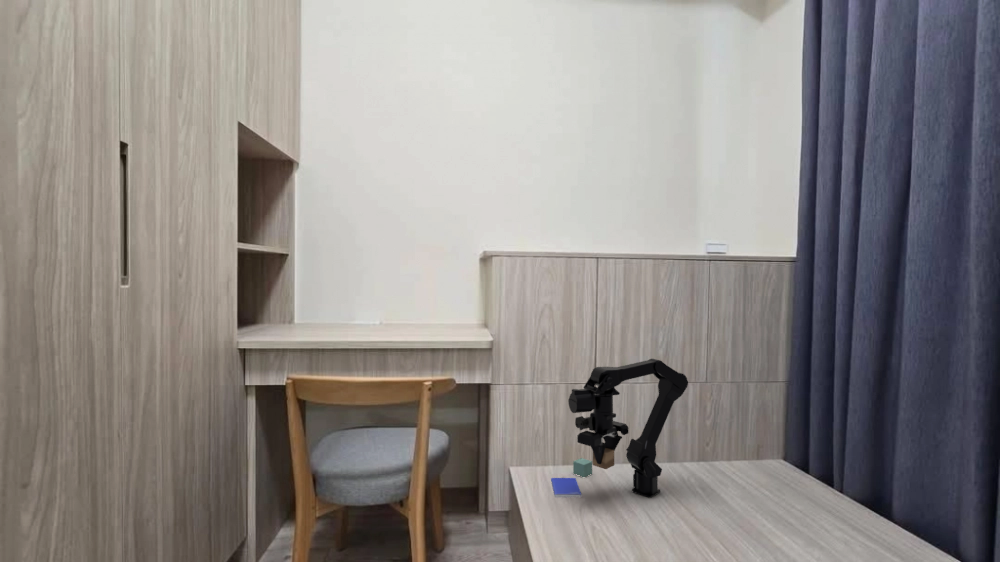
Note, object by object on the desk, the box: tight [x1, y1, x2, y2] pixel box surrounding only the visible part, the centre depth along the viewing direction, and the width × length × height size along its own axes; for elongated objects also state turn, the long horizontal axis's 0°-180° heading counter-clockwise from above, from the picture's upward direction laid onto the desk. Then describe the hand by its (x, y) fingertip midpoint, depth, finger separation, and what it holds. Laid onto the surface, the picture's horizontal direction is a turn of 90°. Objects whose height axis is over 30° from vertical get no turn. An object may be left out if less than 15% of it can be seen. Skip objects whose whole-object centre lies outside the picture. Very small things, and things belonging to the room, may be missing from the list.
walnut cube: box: [592, 448, 615, 470], centre depth 145 cm, size 4×4×4 cm
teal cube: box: [572, 457, 593, 478], centre depth 163 cm, size 4×4×4 cm
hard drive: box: [550, 477, 583, 498], centre depth 152 cm, size 2×8×12 cm
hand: (603, 461), depth 145 cm, fingers closed on walnut cube, 4 cm apart
